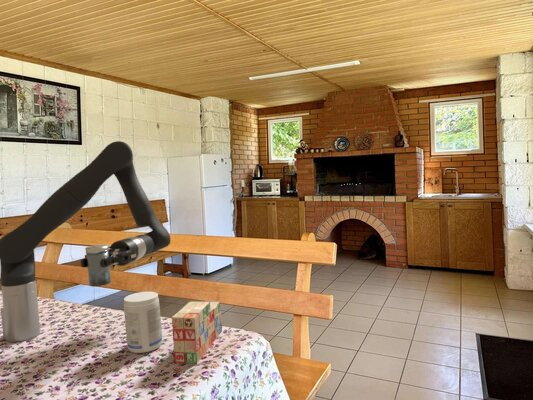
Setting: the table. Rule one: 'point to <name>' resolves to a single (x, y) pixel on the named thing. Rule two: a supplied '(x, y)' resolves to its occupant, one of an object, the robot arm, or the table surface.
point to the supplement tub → (142, 322)
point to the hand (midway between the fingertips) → (92, 263)
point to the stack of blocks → (195, 330)
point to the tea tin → (97, 265)
